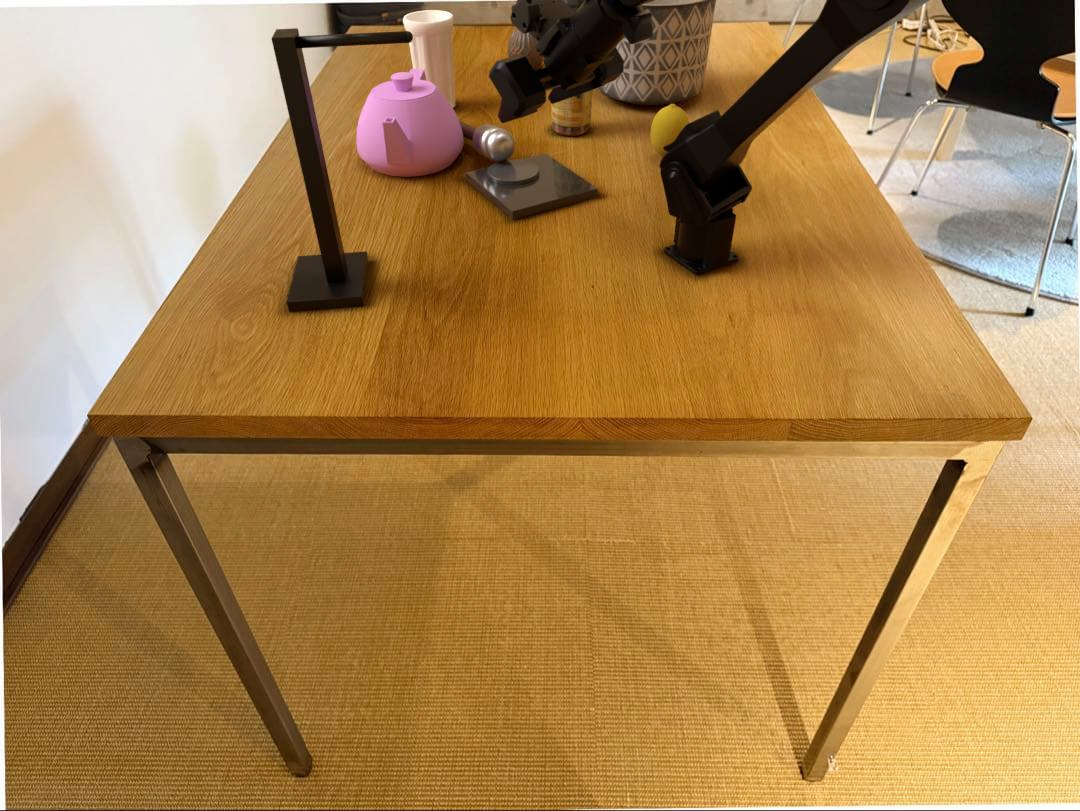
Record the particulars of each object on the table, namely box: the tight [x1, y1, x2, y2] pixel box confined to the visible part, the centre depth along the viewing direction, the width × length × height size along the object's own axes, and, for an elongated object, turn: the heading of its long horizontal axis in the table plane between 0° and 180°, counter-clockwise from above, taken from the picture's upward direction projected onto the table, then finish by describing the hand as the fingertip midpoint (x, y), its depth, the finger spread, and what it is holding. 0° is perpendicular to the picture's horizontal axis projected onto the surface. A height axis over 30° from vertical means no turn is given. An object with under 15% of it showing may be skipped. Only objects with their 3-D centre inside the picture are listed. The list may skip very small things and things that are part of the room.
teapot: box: [355, 68, 465, 178], centre depth 109 cm, size 22×16×12 cm
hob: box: [464, 152, 599, 220], centre depth 104 cm, size 14×13×2 cm
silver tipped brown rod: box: [459, 120, 516, 163], centre depth 114 cm, size 4×4×26 cm
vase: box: [507, 27, 544, 71], centre depth 141 cm, size 7×7×9 cm
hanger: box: [271, 27, 413, 312], centre depth 78 cm, size 16×10×26 cm, turn 97°
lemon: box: [650, 103, 690, 157], centre depth 109 cm, size 6×6×8 cm
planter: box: [597, 0, 717, 106], centre depth 127 cm, size 19×19×16 cm
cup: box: [402, 9, 456, 109], centre depth 124 cm, size 8×8×14 cm
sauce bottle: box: [550, 0, 594, 137], centre depth 114 cm, size 7×6×20 cm
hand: (526, 109), depth 98 cm, fingers open, 9 cm apart
